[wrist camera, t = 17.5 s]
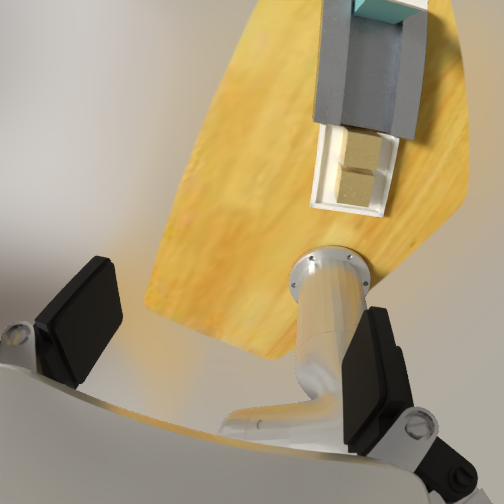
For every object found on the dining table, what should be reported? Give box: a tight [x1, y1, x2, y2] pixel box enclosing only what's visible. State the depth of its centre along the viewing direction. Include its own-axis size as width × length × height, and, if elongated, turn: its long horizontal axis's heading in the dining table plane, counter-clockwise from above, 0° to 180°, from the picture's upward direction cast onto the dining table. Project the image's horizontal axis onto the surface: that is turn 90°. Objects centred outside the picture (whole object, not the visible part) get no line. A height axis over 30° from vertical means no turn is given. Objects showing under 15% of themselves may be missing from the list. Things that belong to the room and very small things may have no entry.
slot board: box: [312, 0, 428, 140], centre depth 29 cm, size 18×12×4 cm, turn 177°
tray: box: [310, 123, 400, 218], centre depth 38 cm, size 11×10×2 cm
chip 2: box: [334, 162, 375, 208], centre depth 37 cm, size 4×4×4 cm
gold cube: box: [340, 126, 382, 171], centre depth 35 cm, size 4×4×4 cm
